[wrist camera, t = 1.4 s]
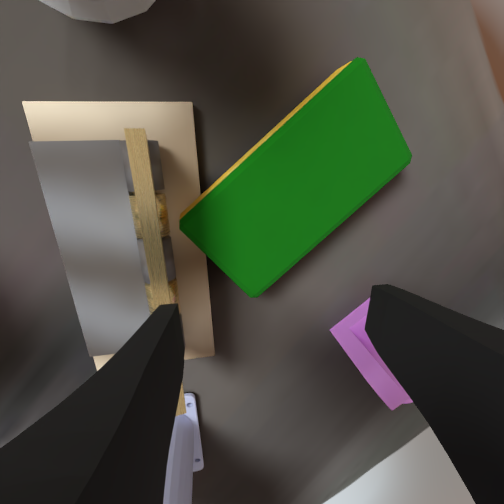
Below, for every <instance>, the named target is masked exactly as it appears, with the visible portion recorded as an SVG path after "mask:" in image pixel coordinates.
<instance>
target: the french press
mask: <svg viewBox="0 0 504 504" xmlns="http://www.w3.org/2000/svg"><path fill="white" fill-rule="evenodd" d="M39 1H41V2H43V3H45V4H47V5H48V6H50V7H52V8H54V9H56V10H58V11H59V12H61V13H63V14H65V15H67V16H69V17H70V18H72V19H76V20H85V21H93V22H102V23H110V24H114V23H116V22H119V21H122V20H124V19H127V18H130V17H132V16H135V15H138V14H140V13H143V12H146V11H147V10H148V9H149V8H150V6H151V5H152V4H153V3H154V2H155V1H156V0H39Z"/></svg>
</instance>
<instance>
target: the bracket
mask: <svg viewBox="0 0 504 504" xmlns="http://www.w3.org/2000/svg"><path fill="white" fill-rule="evenodd" d="M369 302H370V298H369V299H368V300H366V301H365V302H364V303H363V304H361V305H360V306H359V307H358V308H356V309H355V310H354V311H353V312H351V313H350V314H349V315H348V316H346V317H345V318H344V319H343V320H341V321H340V322H339V323H338V324H336V325H335V326H334V327H333V328H331V329H330V331H331V333H332V334H333V335H334V337H335V338H336V340H337V341H338V342H339V344H340V345H341V346H342V348H343V349H344V351H345V352H346V353H347V355H348V356H349V357H350V359H351V360H352V362H353V363H354V364H355V366H356V367H357V368H358V370H359V371H360V373H361V374H362V375H363V377H364V378H365V379H366V381H367V382H368V383H369V384H370V386H371V387H372V388H373V389H374V391H375V392H376V393H377V394H378V396H379V397H380V398H381V399H382V400H383V401H384V403H385V404H386V405H387V406H388V407H389V408H390V409H391V410H392V411H393V410H394V409H395V408H397V407H398V406H399V405H401V404H407V403H412V402H413V401H412V400H411V398H410V397H409V396H408V394H407V393H406V391H405V390H404V389H403V387H402V386H401V385H400V383H399V382H398V381H397V379H396V378H395V377H394V375H393V374H392V373H391V371H390V370H389V369H388V367H387V366H386V364H385V363H384V362H383V360H382V359H381V357H380V356H379V355H378V353H377V351H376V350H375V348H374V346H373V345H372V343H371V341H370V339H369V337H368V335H367V333H366V331H365V330H364V329H365V323H366V318H367V312H368V307H369Z"/></svg>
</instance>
